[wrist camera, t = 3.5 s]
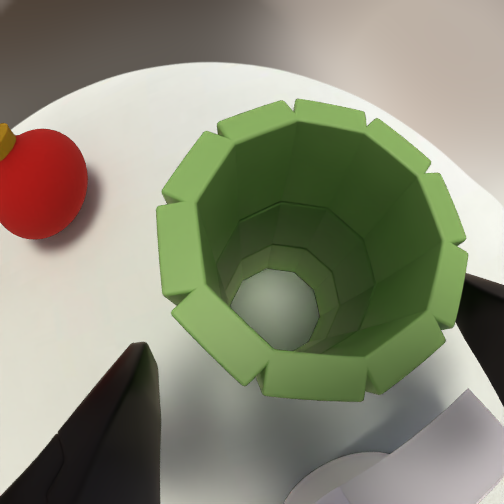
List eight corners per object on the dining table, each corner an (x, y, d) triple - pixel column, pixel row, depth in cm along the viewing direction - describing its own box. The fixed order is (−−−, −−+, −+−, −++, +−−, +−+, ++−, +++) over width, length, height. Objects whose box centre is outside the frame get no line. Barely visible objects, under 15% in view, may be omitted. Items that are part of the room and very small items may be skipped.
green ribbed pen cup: (352, 331, 16) (505, 280, 5) (249, 390, 15) (255, 468, 4) (297, 238, 18) (357, 78, 7) (196, 288, 17) (113, 167, 6)
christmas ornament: (44, 169, 20) (-21, 90, 10) (115, 164, 20) (57, 61, 10) (17, 251, 18) (-74, 189, 8) (90, 258, 18) (-11, 178, 8)
